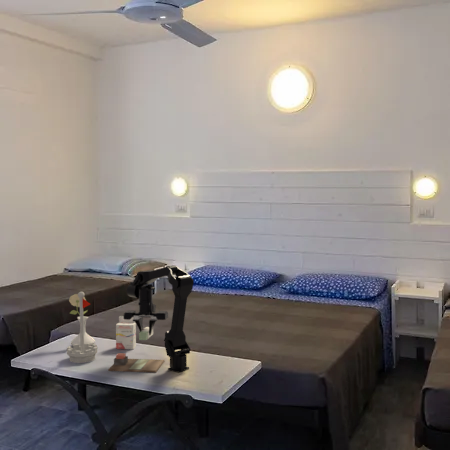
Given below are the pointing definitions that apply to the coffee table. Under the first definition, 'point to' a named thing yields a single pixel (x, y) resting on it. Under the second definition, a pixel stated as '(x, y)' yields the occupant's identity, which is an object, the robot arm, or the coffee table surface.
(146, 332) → the block
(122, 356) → the button
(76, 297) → the flower in vase
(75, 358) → the flag stand
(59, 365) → the coffee table surface
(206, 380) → the coffee table surface
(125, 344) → the ink cartridge box
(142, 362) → the brown control panel
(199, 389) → the coffee table surface
